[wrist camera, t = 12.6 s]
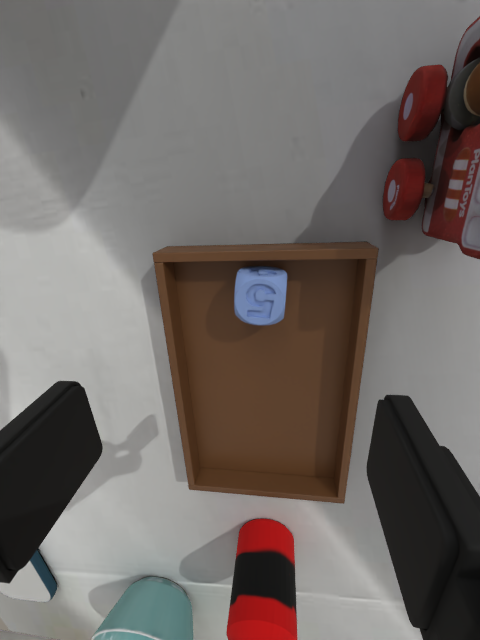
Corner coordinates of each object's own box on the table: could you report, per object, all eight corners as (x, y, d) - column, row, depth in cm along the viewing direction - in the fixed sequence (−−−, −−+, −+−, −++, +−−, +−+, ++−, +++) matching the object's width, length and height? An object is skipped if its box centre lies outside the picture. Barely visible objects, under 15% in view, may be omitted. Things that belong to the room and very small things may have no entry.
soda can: (242, 512, 40) (228, 631, 29) (298, 523, 40) (305, 650, 29) (236, 545, 43) (220, 665, 32) (288, 556, 43) (290, 682, 32)
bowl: (130, 611, 55) (106, 678, 47) (107, 559, 49) (75, 625, 41) (212, 621, 52) (201, 693, 45) (198, 567, 46) (182, 639, 39)
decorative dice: (240, 306, 28) (233, 324, 24) (241, 264, 26) (234, 275, 22) (283, 309, 27) (283, 327, 24) (286, 266, 26) (287, 278, 22)
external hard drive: (64, 590, 55) (57, 604, 53) (10, 584, 57) (1, 597, 55) (15, 503, 46) (4, 516, 44) (-47, 499, 48) (-60, 512, 46)
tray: (166, 246, 27) (152, 252, 24) (367, 241, 25) (379, 248, 22) (196, 466, 38) (188, 489, 35) (339, 477, 35) (344, 503, 32)
